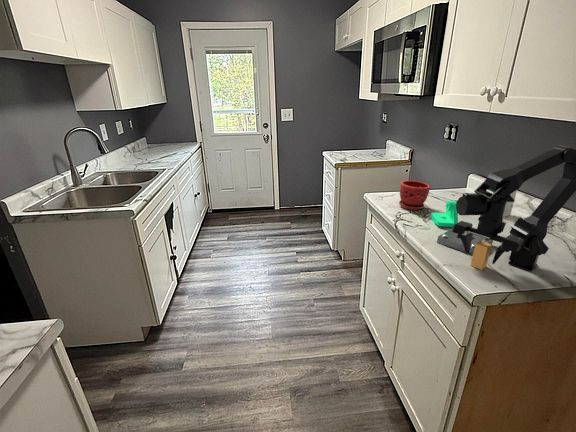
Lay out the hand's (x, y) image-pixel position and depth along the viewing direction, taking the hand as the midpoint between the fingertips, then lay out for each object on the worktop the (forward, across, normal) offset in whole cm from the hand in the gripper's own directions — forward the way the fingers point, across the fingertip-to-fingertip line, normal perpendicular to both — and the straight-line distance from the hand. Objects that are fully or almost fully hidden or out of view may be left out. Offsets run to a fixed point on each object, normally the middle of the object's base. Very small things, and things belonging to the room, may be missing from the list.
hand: (479, 258), depth 102 cm
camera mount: (+3, +25, -26) cm, 36 cm away
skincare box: (+3, +13, -56) cm, 58 cm away
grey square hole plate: (+2, +10, -13) cm, 17 cm away
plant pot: (+3, +44, -34) cm, 56 cm away
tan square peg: (+3, 0, 0) cm, 3 cm away
